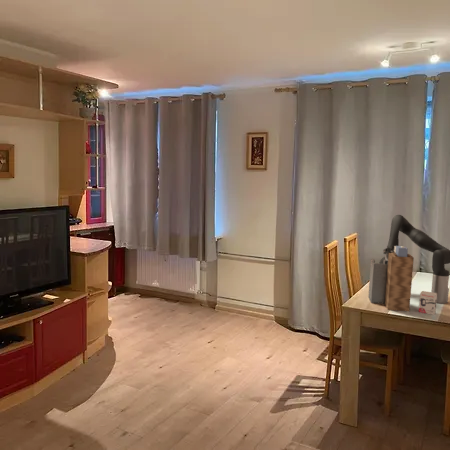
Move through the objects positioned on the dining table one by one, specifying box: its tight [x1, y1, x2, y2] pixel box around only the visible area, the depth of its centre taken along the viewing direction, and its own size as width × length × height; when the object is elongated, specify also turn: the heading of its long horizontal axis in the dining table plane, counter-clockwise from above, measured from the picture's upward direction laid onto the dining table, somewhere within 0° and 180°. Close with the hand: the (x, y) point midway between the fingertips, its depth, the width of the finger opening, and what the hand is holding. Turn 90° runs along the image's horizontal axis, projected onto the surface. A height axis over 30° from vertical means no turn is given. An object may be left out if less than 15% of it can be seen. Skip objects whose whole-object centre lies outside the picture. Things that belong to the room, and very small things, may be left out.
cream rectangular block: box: [393, 245, 409, 257], centre depth 281 cm, size 5×22×6 cm, turn 170°
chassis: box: [367, 258, 388, 305], centre depth 293 cm, size 10×15×25 cm, turn 170°
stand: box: [384, 252, 414, 312], centre depth 277 cm, size 12×11×33 cm
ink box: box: [418, 290, 437, 316], centre depth 272 cm, size 8×5×12 cm, turn 56°
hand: (397, 247), depth 287 cm, fingers open, 3 cm apart
